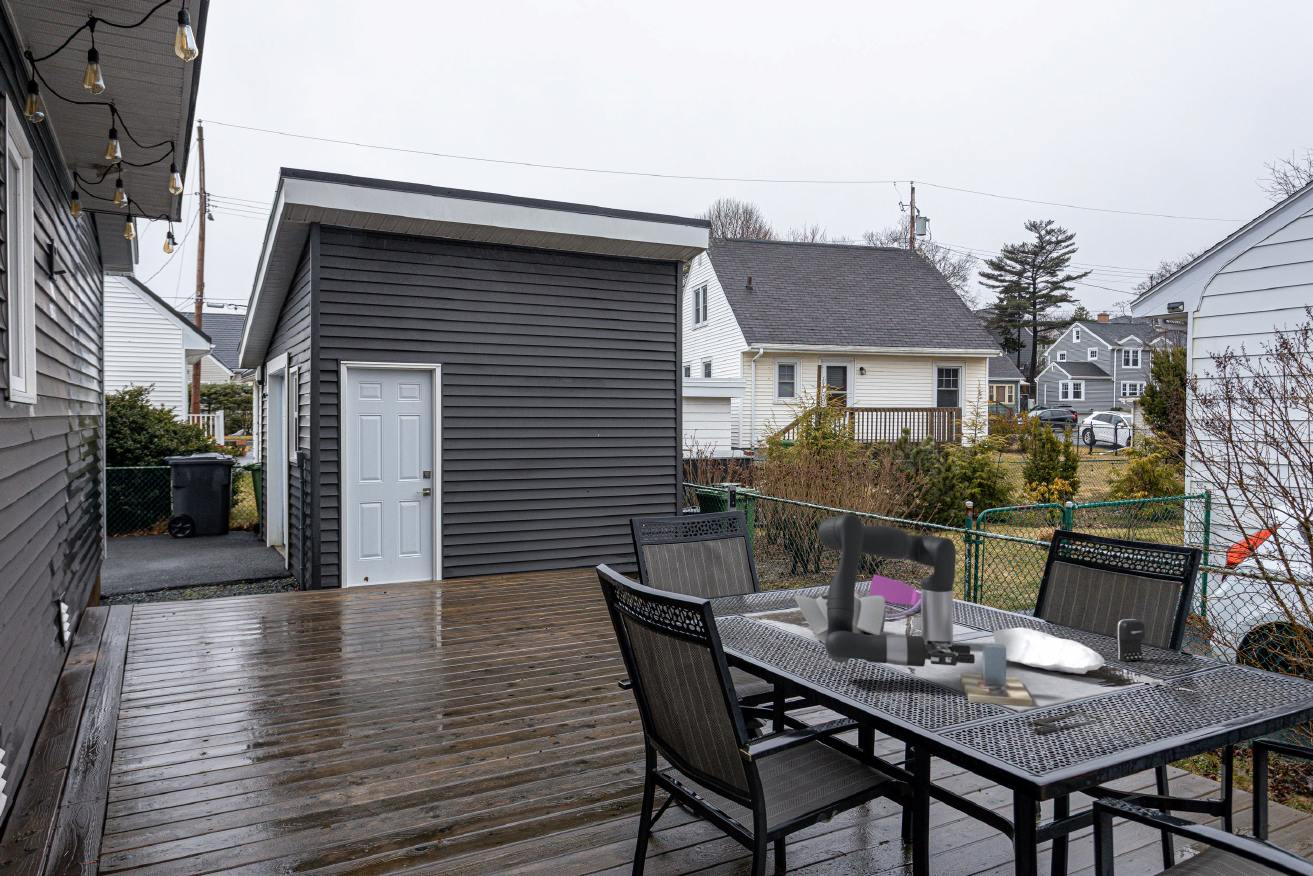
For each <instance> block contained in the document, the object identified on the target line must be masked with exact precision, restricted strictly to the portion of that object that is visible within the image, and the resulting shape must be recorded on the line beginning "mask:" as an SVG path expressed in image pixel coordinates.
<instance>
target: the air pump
mask: <svg viewBox="0 0 1313 876" xmlns="http://www.w3.org/2000/svg"><path fill="white" fill-rule="evenodd" d="M878 595H881V596H883V597H884V600H885V603H886V602H887V603H891V604H897V605H898V604H900V605H910V606H913V607H911V608H909V609H908V610H906V611H902V612H899V613H891V614H890V613H889V614H886V613H885V619H891V618H893V619H894V618H901V617H903V616H906V615H909V614H911V613H913V612H915V610H917V609H918V608H919V606H920V607H921V592H918V591H917V590H916V589H915V588H914V587H912V586H910V585H908V584H905V583H904V582H901V581H898V580H895V579H892V578H888V577H884V576H882V575H877V574H874V575H873V577H872V580H871V583H870V588H869V596H878ZM854 597H856V598H861V596H860V594H859V593H858V592H857V590H856V589H855V593H854Z"/></svg>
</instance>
